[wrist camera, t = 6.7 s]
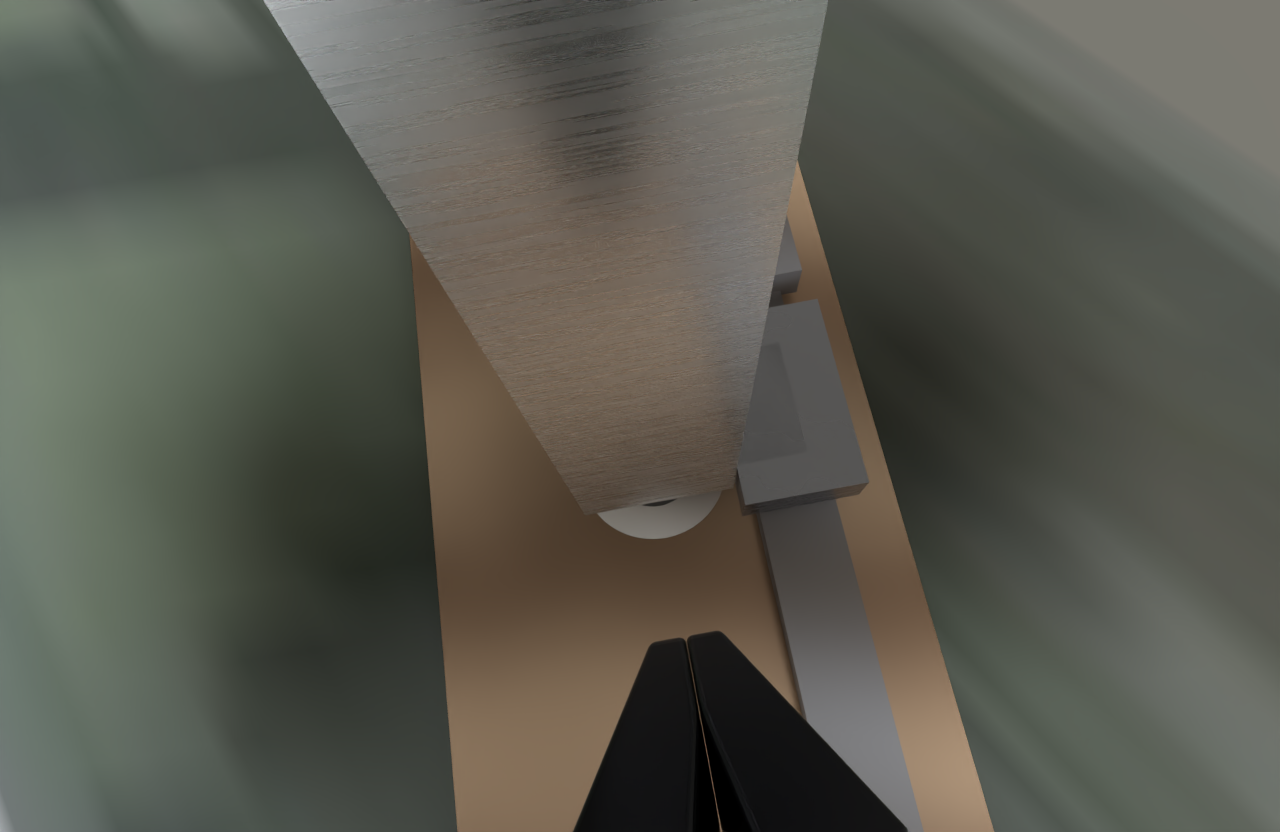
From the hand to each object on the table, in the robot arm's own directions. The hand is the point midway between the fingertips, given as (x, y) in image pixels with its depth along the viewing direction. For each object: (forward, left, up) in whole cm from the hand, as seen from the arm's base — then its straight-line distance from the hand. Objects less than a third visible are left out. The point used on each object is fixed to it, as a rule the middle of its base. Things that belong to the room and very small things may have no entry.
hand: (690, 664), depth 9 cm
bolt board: (+1, -1, -8) cm, 8 cm away
